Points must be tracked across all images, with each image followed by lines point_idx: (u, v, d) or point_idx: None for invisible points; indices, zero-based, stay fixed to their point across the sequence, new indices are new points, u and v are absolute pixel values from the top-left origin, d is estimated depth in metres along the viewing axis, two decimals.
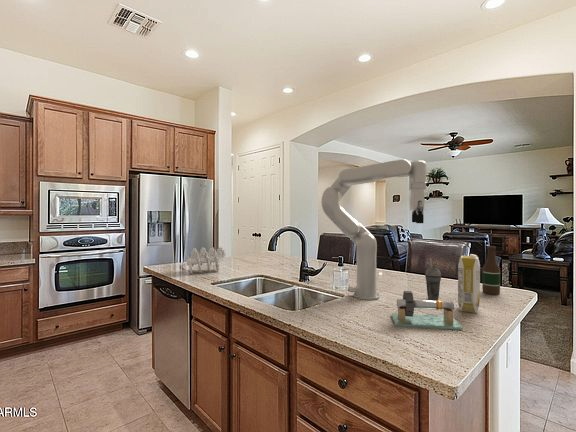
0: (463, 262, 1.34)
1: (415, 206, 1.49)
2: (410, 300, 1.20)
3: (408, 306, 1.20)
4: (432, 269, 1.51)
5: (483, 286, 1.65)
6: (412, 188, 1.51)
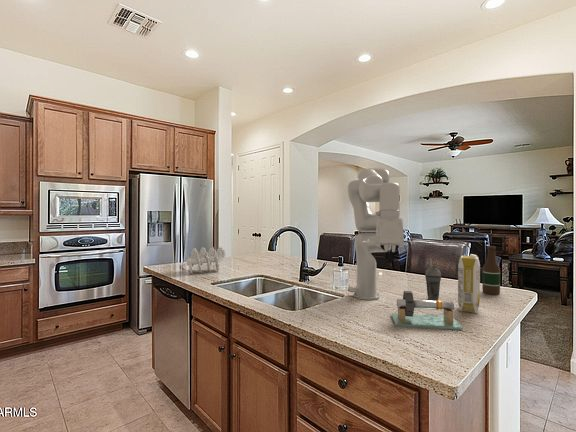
0: (463, 262, 1.34)
1: (403, 239, 1.22)
2: (410, 300, 1.20)
3: (408, 306, 1.20)
4: (432, 269, 1.51)
5: (483, 286, 1.65)
6: (397, 216, 1.21)
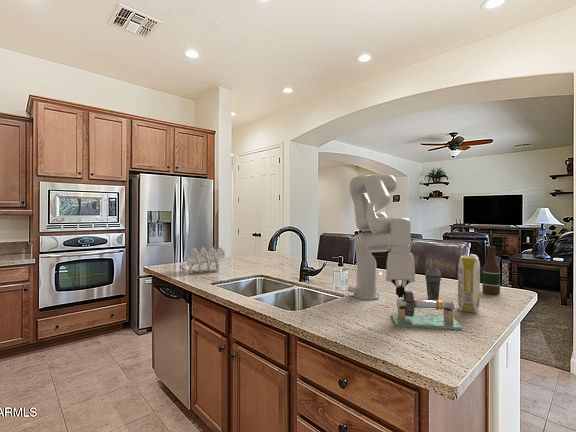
0: (463, 262, 1.34)
1: (414, 275, 1.21)
2: (410, 300, 1.20)
3: (408, 306, 1.20)
4: (432, 269, 1.51)
5: (483, 286, 1.65)
6: (408, 252, 1.21)
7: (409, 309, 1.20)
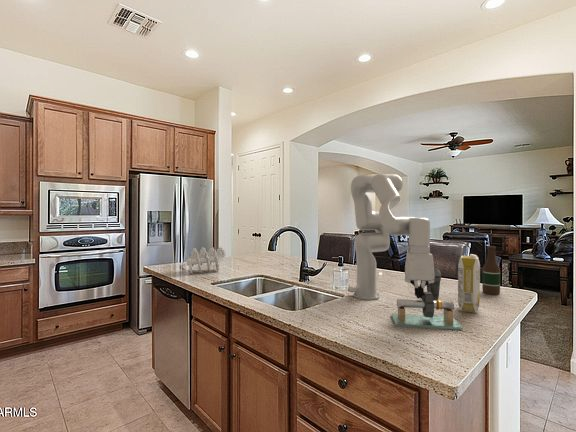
0: (463, 262, 1.34)
1: None
2: (430, 301, 1.19)
3: (428, 307, 1.18)
4: None
5: (483, 286, 1.65)
6: (427, 253, 1.20)
7: (429, 310, 1.18)
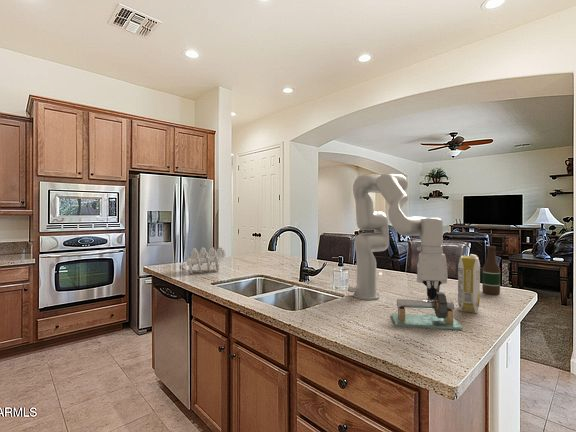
0: (463, 262, 1.34)
1: None
2: (443, 301, 1.18)
3: (441, 308, 1.18)
4: None
5: (483, 286, 1.65)
6: (440, 253, 1.19)
7: (442, 311, 1.18)
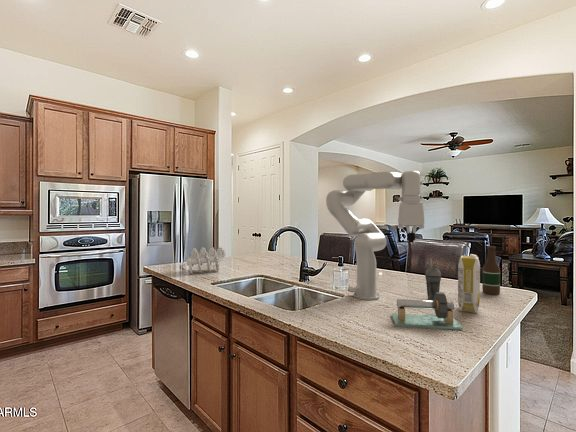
0: (463, 262, 1.34)
1: None
2: (443, 301, 1.18)
3: (441, 308, 1.18)
4: (432, 269, 1.51)
5: (483, 286, 1.65)
6: (418, 201, 1.36)
7: (442, 311, 1.17)
